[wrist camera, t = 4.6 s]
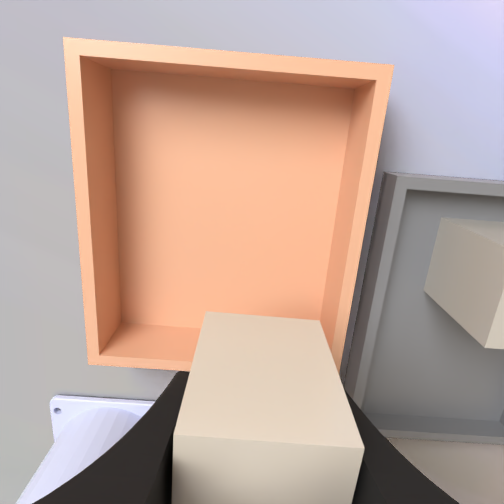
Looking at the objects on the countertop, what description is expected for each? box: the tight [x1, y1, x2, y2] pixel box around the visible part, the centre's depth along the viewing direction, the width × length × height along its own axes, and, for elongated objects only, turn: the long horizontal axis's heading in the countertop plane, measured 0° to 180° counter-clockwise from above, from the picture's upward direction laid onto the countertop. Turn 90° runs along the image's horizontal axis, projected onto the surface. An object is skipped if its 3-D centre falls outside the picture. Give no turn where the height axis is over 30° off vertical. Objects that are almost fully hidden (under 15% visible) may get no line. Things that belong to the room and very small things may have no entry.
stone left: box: [172, 311, 365, 504], centre depth 12 cm, size 4×4×6 cm
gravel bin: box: [63, 37, 394, 374], centre depth 19 cm, size 15×13×4 cm
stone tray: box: [344, 172, 504, 445], centre depth 22 cm, size 16×11×2 cm
